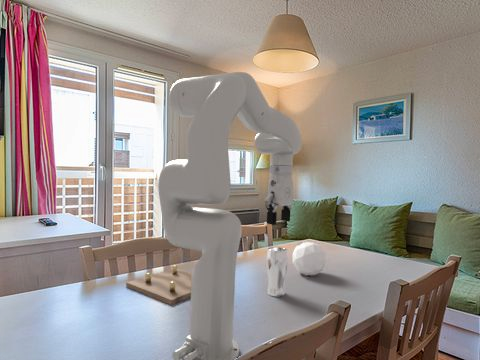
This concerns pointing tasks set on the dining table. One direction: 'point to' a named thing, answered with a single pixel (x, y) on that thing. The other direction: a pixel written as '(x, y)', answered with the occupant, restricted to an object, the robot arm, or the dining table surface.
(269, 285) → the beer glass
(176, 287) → the walnut board
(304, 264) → the geodesic sphere
